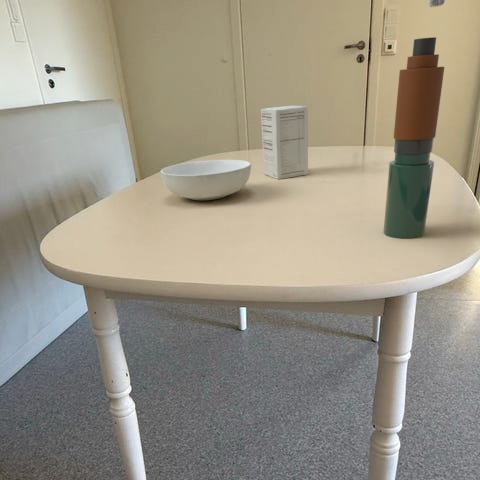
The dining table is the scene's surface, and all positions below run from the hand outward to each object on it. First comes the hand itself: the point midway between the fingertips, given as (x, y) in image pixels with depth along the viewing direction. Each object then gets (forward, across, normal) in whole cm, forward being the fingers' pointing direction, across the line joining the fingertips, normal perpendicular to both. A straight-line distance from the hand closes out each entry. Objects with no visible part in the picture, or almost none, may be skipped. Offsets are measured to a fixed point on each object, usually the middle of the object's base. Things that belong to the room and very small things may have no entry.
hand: (448, 1), depth 61 cm
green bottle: (+31, -4, +4) cm, 32 cm away
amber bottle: (+17, -4, +4) cm, 18 cm away
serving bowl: (+31, +30, +40) cm, 59 cm away
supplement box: (+31, +51, +21) cm, 63 cm away
